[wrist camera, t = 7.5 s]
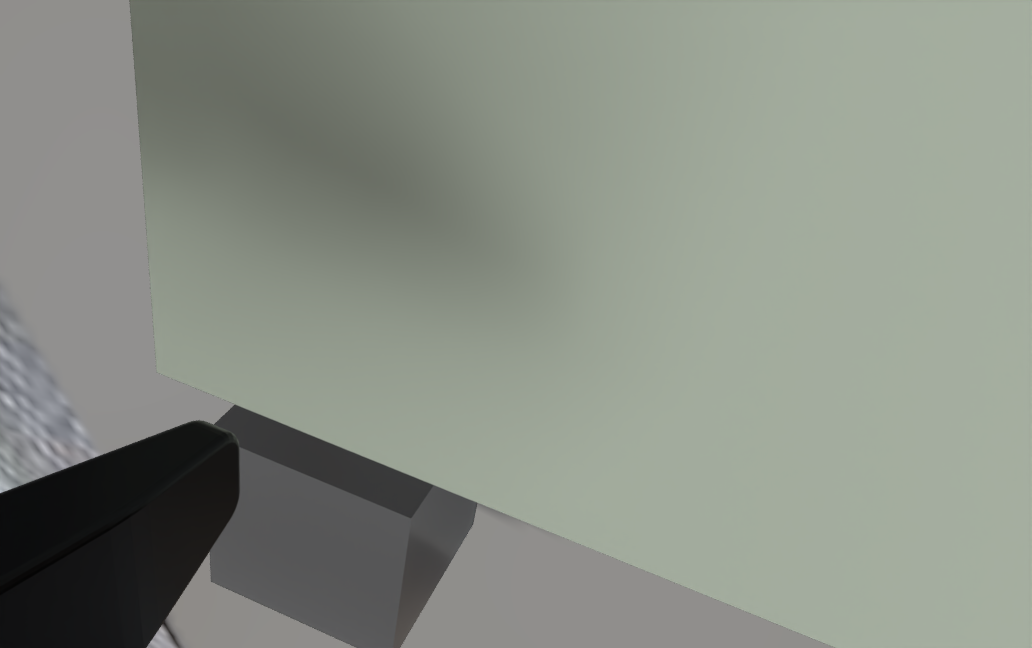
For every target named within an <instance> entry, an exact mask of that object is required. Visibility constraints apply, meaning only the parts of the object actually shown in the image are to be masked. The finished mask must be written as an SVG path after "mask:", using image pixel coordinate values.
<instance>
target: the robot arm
mask: <svg viewBox="0 0 1032 648" xmlns="http://www.w3.org/2000/svg"><path fill="white" fill-rule="evenodd" d="M239 494H240V457H239V441H238V439H237V437H236V435H235V434H233V433H232V432H230V431H227V430H225V429H223V428H220V427H218V426H215V425H213V424H210V423H208V422H205V421H192V422H188V423H186V424H183V425H180V426H178V427H175V428H172V429H170V430H167V431H164V432H162V433H159V434H157V435H154V436H151V437H148V438H146V439H143V440H140V441H138V442H135V443H132V444H130V445H128V446H125V447H122V448H119V449H116V450H114V451H111V452H108V453H106V454H103V455H100V456H98V457H95V458H93V459H90V460H87V461H85V462H82V463H79V464H77V465H74V466H71V467H69V468H66V469H63V470H61V471H58V472H55V473H53V474H50V475H47V476H45V477H42V478H39V479H37V480H34V481H31V482H29V483H26V484H23V485H21V486H18V487H15V488H13V489H10V490H8V491H5V492H2V493H0V648H146V647H147V646H148V644H149V643H150V641H151V640H152V638H153V637H154V636H155V634H156V633H157V631H158V630H159V628H160V627H161V625H162V624H163V622H164V621H165V619H166V618H167V616H168V614H169V613H170V611H171V610H172V608H173V607H174V605H175V604H176V602H177V601H178V599H179V598H180V596H181V595H182V593H183V591H184V590H185V588H186V587H187V585H188V584H189V582H190V581H191V579H192V578H193V576H194V575H195V573H196V571H197V570H198V568H199V567H200V565H201V563H202V562H203V561H204V559H205V558H206V556H207V555H208V553H209V552H210V550H211V548H212V547H213V545H214V544H215V542H216V541H217V539H218V538H219V536H220V535H221V533H222V532H223V530H224V529H225V527H226V525H227V524H228V522H229V521H230V519H231V518H232V516H233V514H234V512H235V510H236V507H237V504H238V500H239Z"/></svg>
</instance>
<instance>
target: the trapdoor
mask: <svg viewBox="0 0 1032 648" xmlns="http://www.w3.org/2000/svg"><path fill="white" fill-rule="evenodd" d="M130 13H131V27H132V41H133V53H134V54H133V55H134V69H135V81H136V96H137V110H138V124H139V137H140V151H141V165H142V179H143V192H144V206H145V220H146V233H147V246H148V260H149V275H150V289H151V302H152V316H153V330H154V343H155V358H156V371H157V373H159V374H161V375H164V376H166V377H169V378H171V379H174V380H176V381H179V382H181V383H183V384H186V385H189V386H191V387H193V388H196V389H198V390H201V391H204V392H206V393H208V394H211V395H213V396H216V397H218V398H220V399H223V400H225V401H228V402H230V403H233V404H235V405H238V406H240V407H243V408H245V409H248V410H250V411H253V412H255V413H257V414H260V415H262V416H265V417H267V418H270V419H272V420H275V421H277V422H280V423H282V424H285V425H287V426H289V427H292V428H294V429H297V430H299V431H302V432H304V433H307V434H309V435H312V436H314V437H317V438H319V439H322V440H324V441H326V442H329V443H331V444H334V445H336V446H339V447H341V448H344V449H346V450H349V451H351V452H354V453H356V454H358V455H361V456H363V457H366V458H368V459H371V460H373V461H376V462H378V463H381V464H383V465H386V466H388V467H391V468H393V469H395V470H398V471H400V472H403V473H405V474H408V475H410V476H413V477H415V478H418V479H420V480H423V481H425V482H428V483H430V484H432V485H435V486H437V487H440V488H442V489H445V490H447V491H450V492H452V493H455V494H457V495H460V496H462V497H464V498H467V499H469V500H472V501H474V502H477V503H479V504H482V505H484V506H487V507H489V508H492V509H494V510H497V511H499V512H501V513H504V514H506V515H509V516H511V517H514V518H516V519H519V520H521V521H524V522H526V523H529V524H531V525H534V526H536V527H538V528H541V529H543V530H546V531H548V532H551V533H553V534H556V535H558V536H561V537H563V538H566V539H568V540H570V541H573V542H575V543H578V544H580V545H583V546H585V547H588V548H590V549H593V550H595V551H598V552H600V553H603V554H605V555H607V556H610V557H612V558H615V559H617V560H620V561H622V562H625V563H627V564H630V565H632V566H635V567H637V568H640V569H642V570H644V571H647V572H650V573H652V574H654V575H657V576H659V577H662V578H664V579H667V580H669V581H672V582H674V583H677V584H679V585H682V586H684V587H686V588H689V589H691V590H694V591H696V592H699V593H701V594H704V595H706V596H709V597H711V598H714V599H716V600H718V601H721V602H723V603H726V604H729V605H731V606H733V607H736V608H738V609H741V610H743V611H746V612H748V613H750V614H753V615H755V616H758V617H760V618H763V619H765V620H768V621H770V622H773V623H775V624H778V625H780V626H782V627H785V628H788V629H790V630H793V631H795V632H797V633H800V634H802V635H805V636H807V637H810V638H812V639H815V640H817V641H819V642H822V643H825V644H827V645H829V646H832V647H834V648H1032V0H130Z"/></svg>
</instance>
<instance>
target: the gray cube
mask: <svg viewBox="0 0 1032 648" xmlns="http://www.w3.org/2000/svg"><path fill="white" fill-rule="evenodd" d="M214 425H215V426H218V427H220V428H223V429H225V430H227V431H230V432H232V433H233V434H235V435H236V437H237V439H238V441H239V457H240V494H239V500H238V504H237V507H236V510H235V512H234V514H233V516H232V518H231V519H230V521H229V522H228V524H227V525H226V527H225V529H224V530H223V532H222V533H221V535H220V536H219V538H218V539H217V541H216V542H215V544H214V545H213V547H212V548H211V550H210V570H211V582H213V583H215V584H217V585H220V586H222V587H224V588H226V589H228V590H231V591H233V592H235V593H238V594H239V595H242V596H244V597H246V598H248V599H251V600H253V601H255V602H257V603H259V604H261V605H264V606H266V607H268V608H271V609H272V610H275V611H277V612H279V613H281V614H284V615H286V616H288V617H290V618H292V619H295V620H297V621H299V622H301V623H303V624H306V625H308V626H310V627H312V628H314V629H317V630H319V631H321V632H323V633H325V634H328V635H330V636H332V637H334V638H336V639H339V640H341V641H343V642H345V643H348V644H350V645H352V646H354V647H356V648H400V647H401V645H402V644H403V642H404V640H405V639H406V637H407V635H408V633H409V632H410V630H411V628H412V627H413V625H414V623H415V622H416V620H417V618H418V617H419V615H420V613H421V611H422V610H423V608H424V606H425V605H426V603H427V601H428V599H429V598H430V596H431V594H432V593H433V591H434V589H435V588H436V586H437V584H438V583H439V581H440V579H441V578H442V576H443V574H444V572H445V571H446V569H447V567H448V566H449V564H450V562H451V560H452V559H453V557H454V556H455V554H456V552H457V551H458V549H459V547H460V545H461V544H462V542H463V540H464V538H465V537H466V535H467V534H468V532H469V530H470V528H471V527H472V525H473V522H474V518H475V513H476V508H477V502H474V501H472V500H469V499H467V498H464V497H462V496H460V495H457V494H455V493H452V492H450V491H447V490H445V489H442V488H440V487H437V486H435V485H432V484H430V483H428V482H425V481H423V480H420V479H418V478H415V477H413V476H410V475H408V474H405V473H403V472H400V471H398V470H395V469H393V468H391V467H388V466H386V465H383V464H381V463H378V462H376V461H373V460H371V459H368V458H366V457H363V456H361V455H358V454H356V453H354V452H351V451H349V450H346V449H344V448H341V447H339V446H336V445H334V444H331V443H329V442H326V441H324V440H322V439H319V438H317V437H314V436H312V435H309V434H307V433H304V432H302V431H299V430H297V429H294V428H292V427H289V426H287V425H285V424H282V423H280V422H277V421H275V420H272V419H270V418H267V417H265V416H262V415H260V414H257V413H255V412H253V411H250V410H248V409H245V408H243V407H240V406H238V405H234V406H233V407H232V408H231V409H230V410H229V411H228V412H227V413H226V414H225V415H223V416H222V417H221V418H220V419H219V420H218V421H217V422H216V423H215V424H214Z"/></svg>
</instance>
